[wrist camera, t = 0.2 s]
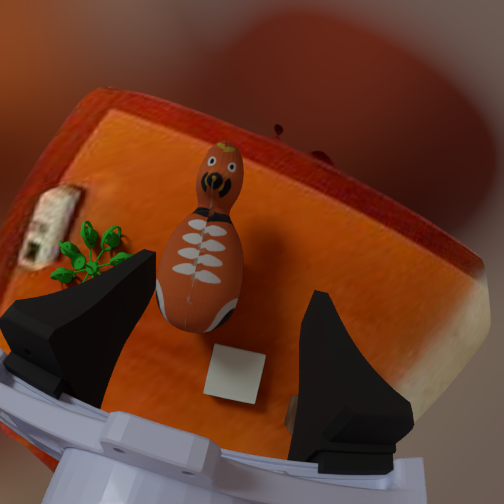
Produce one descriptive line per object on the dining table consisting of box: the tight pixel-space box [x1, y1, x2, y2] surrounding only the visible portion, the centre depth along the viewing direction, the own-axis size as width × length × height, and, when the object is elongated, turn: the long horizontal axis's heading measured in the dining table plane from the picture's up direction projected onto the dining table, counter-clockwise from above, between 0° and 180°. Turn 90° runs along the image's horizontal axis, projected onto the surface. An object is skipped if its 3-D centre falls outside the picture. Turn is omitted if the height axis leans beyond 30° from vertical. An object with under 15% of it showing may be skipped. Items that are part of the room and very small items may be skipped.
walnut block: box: [284, 395, 298, 436], centre depth 38 cm, size 4×4×6 cm
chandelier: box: [51, 221, 134, 283], centre depth 41 cm, size 15×15×7 cm
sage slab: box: [204, 343, 266, 404], centre depth 41 cm, size 7×7×3 cm
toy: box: [156, 141, 244, 333], centre depth 39 cm, size 10×23×15 cm, turn 170°
